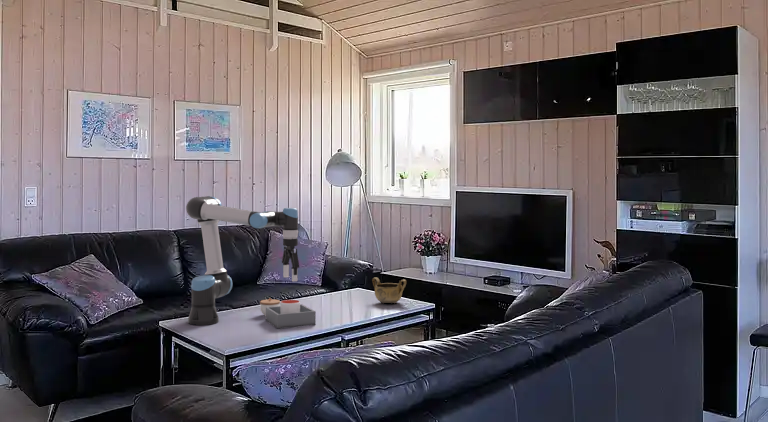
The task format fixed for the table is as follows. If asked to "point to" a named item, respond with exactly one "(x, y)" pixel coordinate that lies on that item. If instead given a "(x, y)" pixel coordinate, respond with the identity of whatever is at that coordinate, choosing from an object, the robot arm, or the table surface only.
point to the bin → (290, 317)
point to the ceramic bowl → (388, 291)
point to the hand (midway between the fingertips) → (290, 279)
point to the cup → (289, 306)
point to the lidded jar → (268, 304)
